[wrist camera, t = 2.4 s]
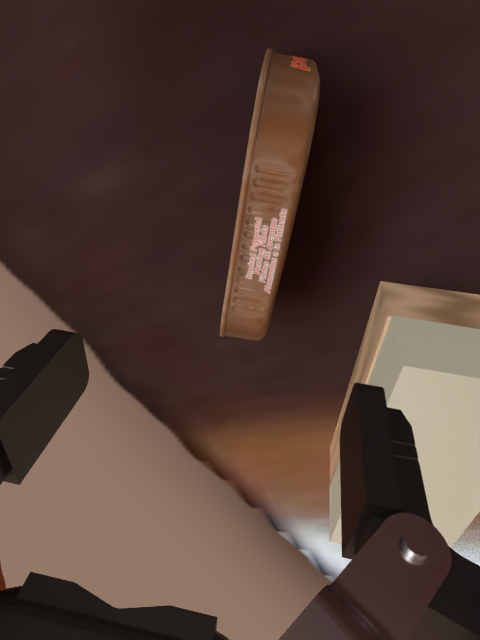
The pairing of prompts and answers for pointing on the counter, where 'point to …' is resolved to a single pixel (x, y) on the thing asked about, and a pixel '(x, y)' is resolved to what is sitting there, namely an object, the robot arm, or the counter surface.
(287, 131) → the tin
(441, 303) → the tower bottom
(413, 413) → the tower top
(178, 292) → the counter surface
